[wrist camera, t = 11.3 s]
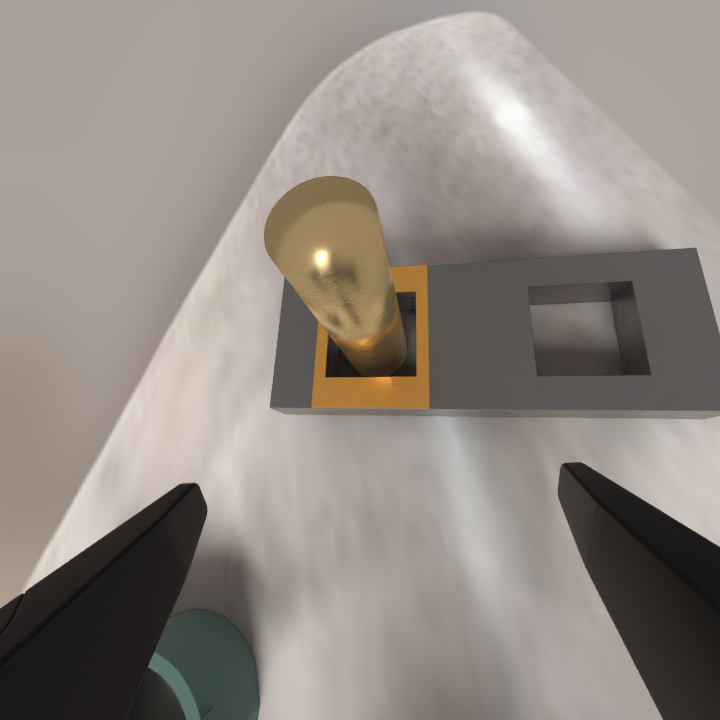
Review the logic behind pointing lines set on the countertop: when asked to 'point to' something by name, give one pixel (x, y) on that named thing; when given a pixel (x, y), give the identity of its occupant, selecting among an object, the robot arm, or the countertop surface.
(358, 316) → the brass peg
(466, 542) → the countertop surface
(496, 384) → the hole rail
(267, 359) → the countertop surface
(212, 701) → the bracket
